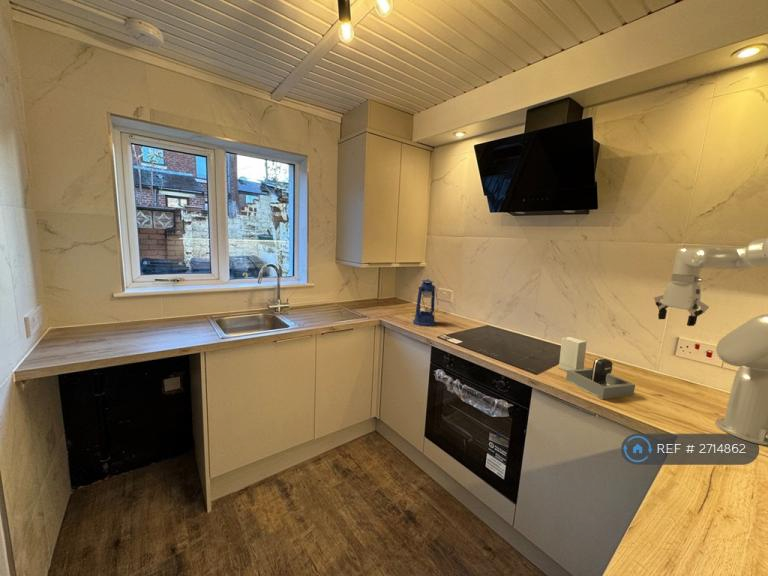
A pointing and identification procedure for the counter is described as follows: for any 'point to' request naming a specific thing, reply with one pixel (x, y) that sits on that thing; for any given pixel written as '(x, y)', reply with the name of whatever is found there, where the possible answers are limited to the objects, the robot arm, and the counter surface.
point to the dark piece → (601, 370)
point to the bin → (612, 390)
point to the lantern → (426, 314)
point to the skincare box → (572, 354)
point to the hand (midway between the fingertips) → (675, 322)
